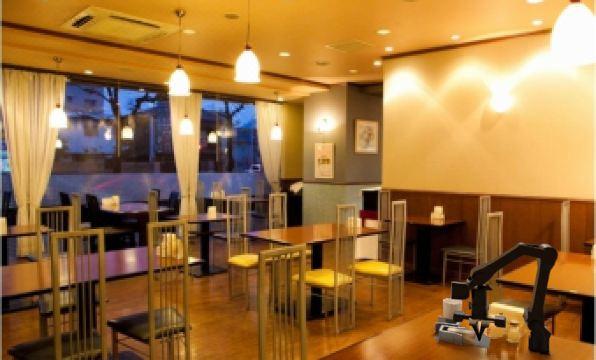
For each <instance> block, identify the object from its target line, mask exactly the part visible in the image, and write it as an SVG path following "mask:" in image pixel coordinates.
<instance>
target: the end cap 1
mask: <svg viewBox="0 0 596 360" xmlns="http://www.w3.org/2000/svg"><path fill="white" fill-rule="evenodd" d="M437 320H438V321H437V322H434V334H437V333H439V329H440V327H441V325H446V326H453V327H461V324H460V322H454V321H453V319H450V318H444V316H441V315H438V319H437Z"/></svg>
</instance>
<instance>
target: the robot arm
mask: <svg viewBox="0 0 596 360" xmlns="http://www.w3.org/2000/svg"><path fill="white" fill-rule="evenodd" d="M522 256H528V257H532V258H536V266H537V269H536V274H535V279H534V284H533V290H532V295H531V300H530V304H529V306H528V307H526V306H524V307H523V314H522V315H521V316H522V318H523V322H524V323H525V325H526V327H527V328H528V329H529V331H530V333H529V335H528V340H527V343H528V345H527V347H528V349H529V352H532V353H538V354H540V355H548V356H549V355H551V352H550V339H551V336H552V332H551V331H550V330H549V328H548V327H547V325H546V323H545V321H546V320H545V313H544V312H545V310H544V308H545V301H546V296H547V291H548V286H549V282H550V281H549V280H550V275H551V272H552V269H553V268H554V267H555V266H556V262H557V260H558V258H559V252H558V251H557V250H556V249H555V248H554V247H553V246H552V245H550V244H548V243H541V244H533V243H524V242H518V243H516V244H515V245H514V246H513V247H511V248H509V249H508V250H506V251H504V252H503V253H502V254H500V255H498V256H496V257H495V258H494V259H492V260H490V261H488V262H485V263H482V264H479V265H476V266H474V267H473V268H471V270H470V273H469V275H468V277H467V278H466V280H465V281H464V282H462V281H461V282H460V281H451V285H450V286H451V287H450V298H451V299H452V300H461V301H467V300H468V299H469V298H470V301H468V310H470V314H466V311H463V310H462V311H455V312H454V314H453V321H454V322H461V323H463V321H464V320H466V321H467V320H468V326H471V328H472V330H474V331H475V333H476V336H477V338H478V341H480V340H481V337H482V335H483V332H485V330H486V329H489V328H490V324H494V326H495V327H496V328H500V329H506V327H507V317H506V316H505V315H497V314H495V315H494V317H490V316H488V315H489V308H488V291H490V292H491V291H494V289H493V287H492V286H491V285H490V284H489V283H488V281H490V280H491V279H492V278H493V276H494V275H496V273H497V272H498V271H501V269H504V268H505V267H507V266H508V265H510V264H512V263H513V262H514V261H516V260H518V259H519V258H521V257H522ZM479 322H481V323H480V324H479ZM479 331H480V333H479Z"/></svg>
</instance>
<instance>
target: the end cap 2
mask: <svg viewBox="0 0 596 360" xmlns="http://www.w3.org/2000/svg"><path fill="white" fill-rule="evenodd" d="M448 328H456V329H463V330H465V329H466V327H465V326H460V327H453V326H446V325H441V327H440V329H439V340H438V342H445V343H449V344H454V345H457V346H461V347H463V346H464V345H463V335H461V334H458V333H455V332H450V331H447V330H448Z"/></svg>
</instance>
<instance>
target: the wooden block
mask: <svg viewBox="0 0 596 360" xmlns="http://www.w3.org/2000/svg"><path fill="white" fill-rule="evenodd" d="M469 330H470V329H469ZM469 330H463V329H456V328H448V330H447V331H450V332H455V333H458V334H461V335H463V343H466V344H472V345H475V331H469Z"/></svg>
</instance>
